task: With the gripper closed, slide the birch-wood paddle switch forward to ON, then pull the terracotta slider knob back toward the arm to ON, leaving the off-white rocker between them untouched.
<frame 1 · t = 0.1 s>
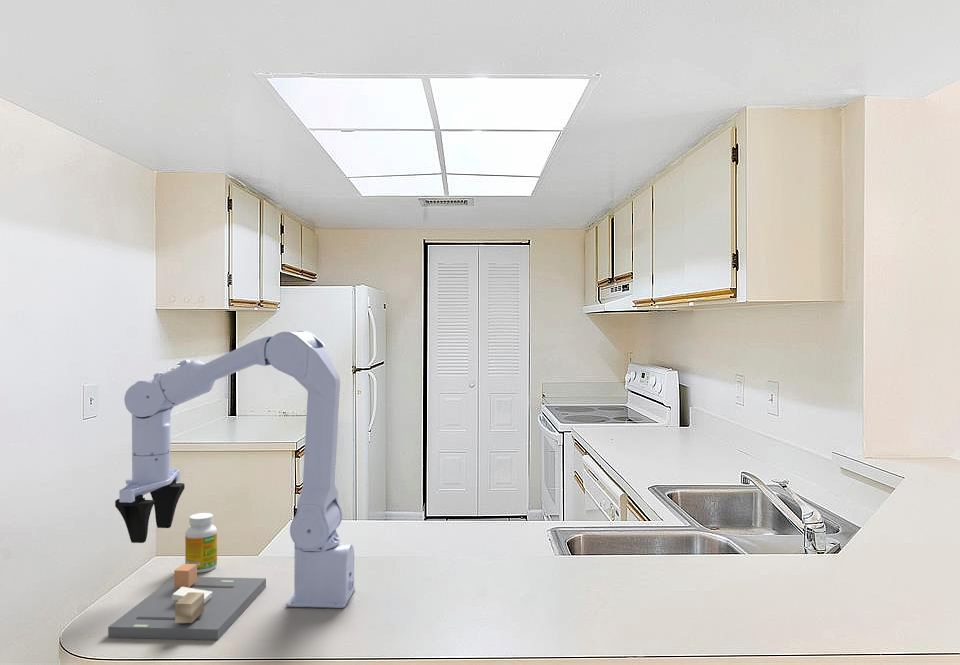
hand: (151, 534, 110), 10 cm above the worktop, fingers open, 7 cm apart
supplement bottle: (201, 569, 122), on the worktop
off-white rocker: (192, 595, 104), point 3 cm above the worktop, hinge at -8.0°
switch panel: (194, 609, 105), on the worktop
birch paddle switch: (189, 607, 98), point 3 cm above the worktop, slide at 0.0 cm
terracotta slider: (185, 575, 110), point 3 cm above the worktop, slide at 0.0 cm
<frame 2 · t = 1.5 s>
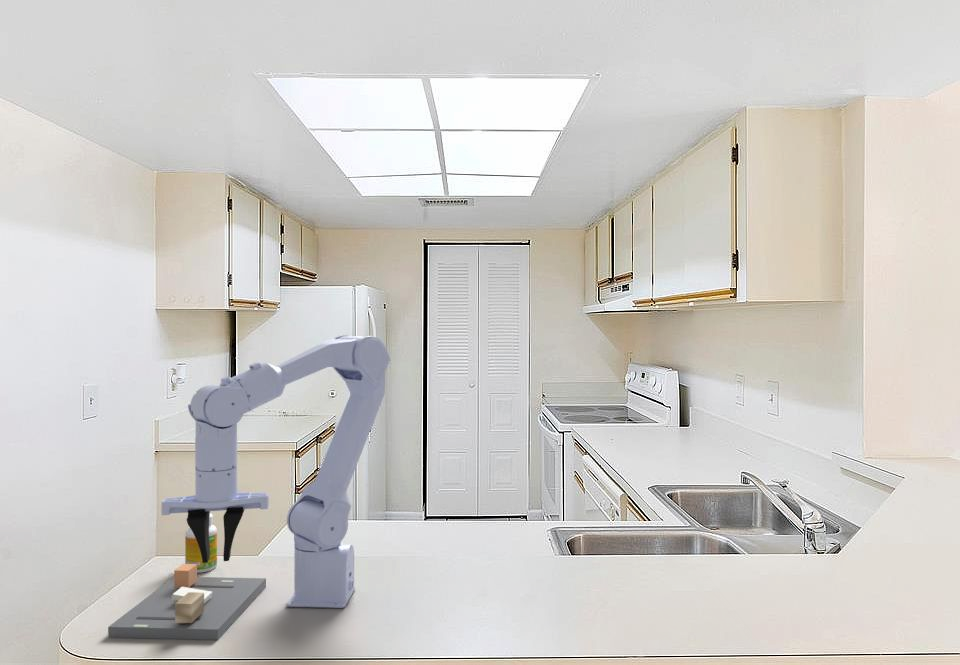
hand: (216, 559, 98), 10 cm above the worktop, fingers closed
nothing on the worktop moved.
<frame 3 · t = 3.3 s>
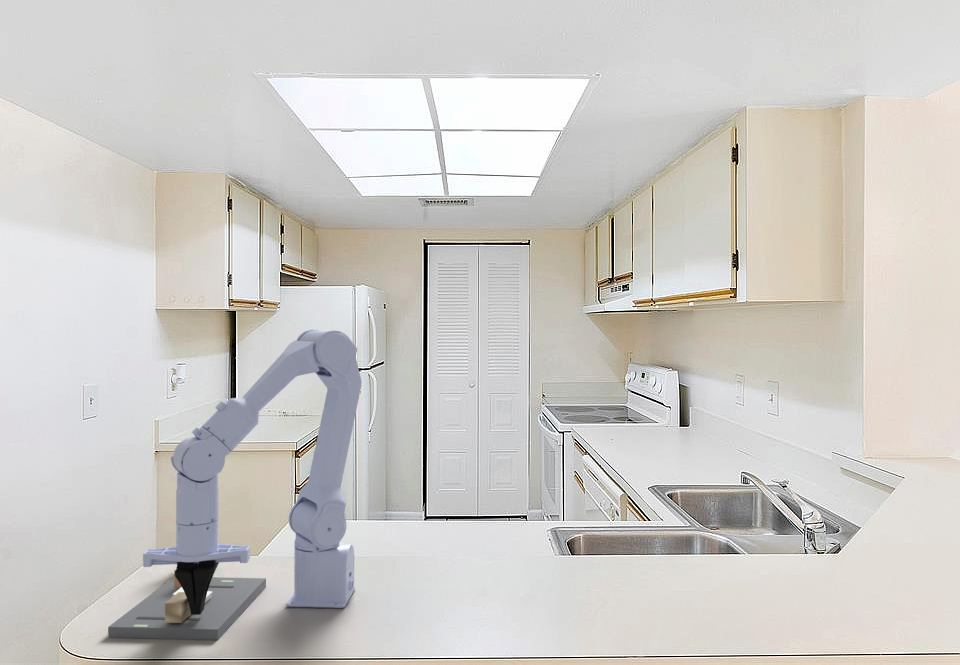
hand: (197, 611, 98), 3 cm above the worktop, fingers closed
birch paddle switch: (180, 607, 98), point 3 cm above the worktop, slide at 1.5 cm, touching gripper
everything else where it was.
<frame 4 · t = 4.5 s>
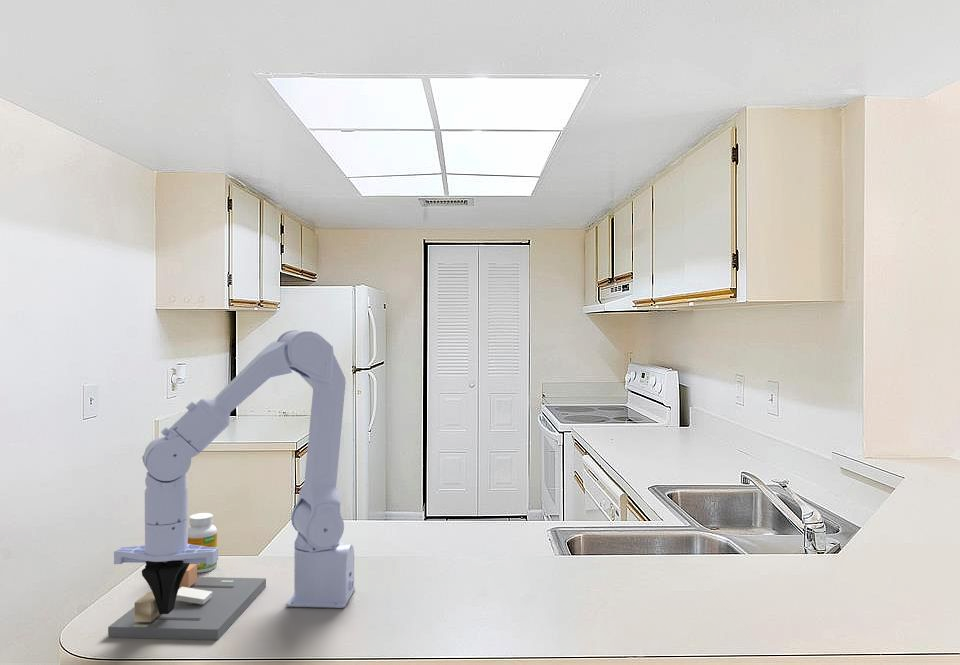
hand: (166, 611, 98), 3 cm above the worktop, fingers closed
birch paddle switch: (150, 606, 98), point 3 cm above the worktop, slide at 6.0 cm, touching gripper
everything else where it was.
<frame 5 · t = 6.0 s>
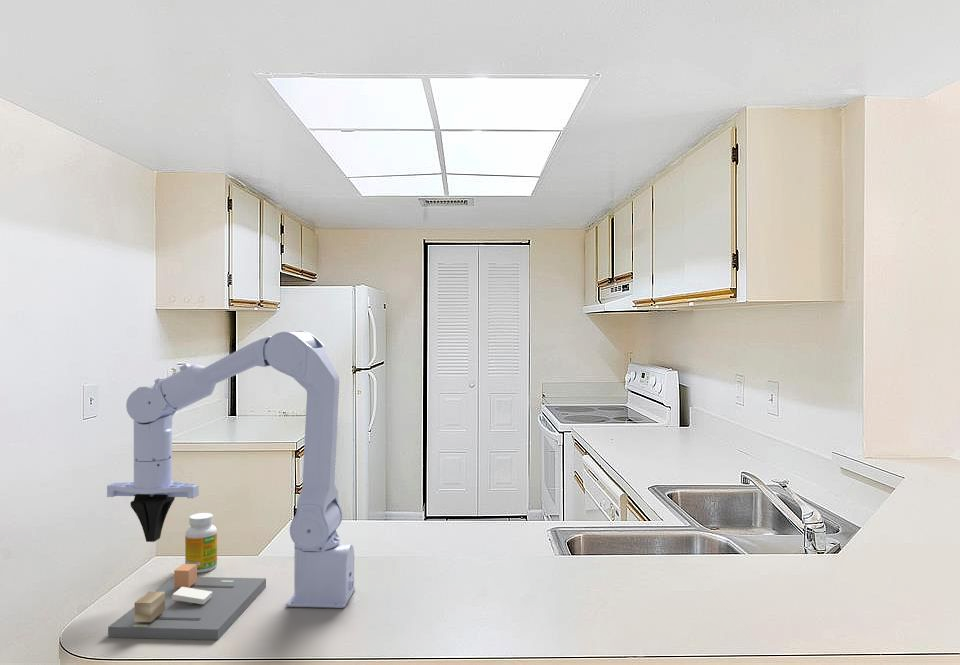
hand: (153, 539, 110), 9 cm above the worktop, fingers closed
birch paddle switch: (150, 606, 98), point 3 cm above the worktop, slide at 6.0 cm
everything else where it was.
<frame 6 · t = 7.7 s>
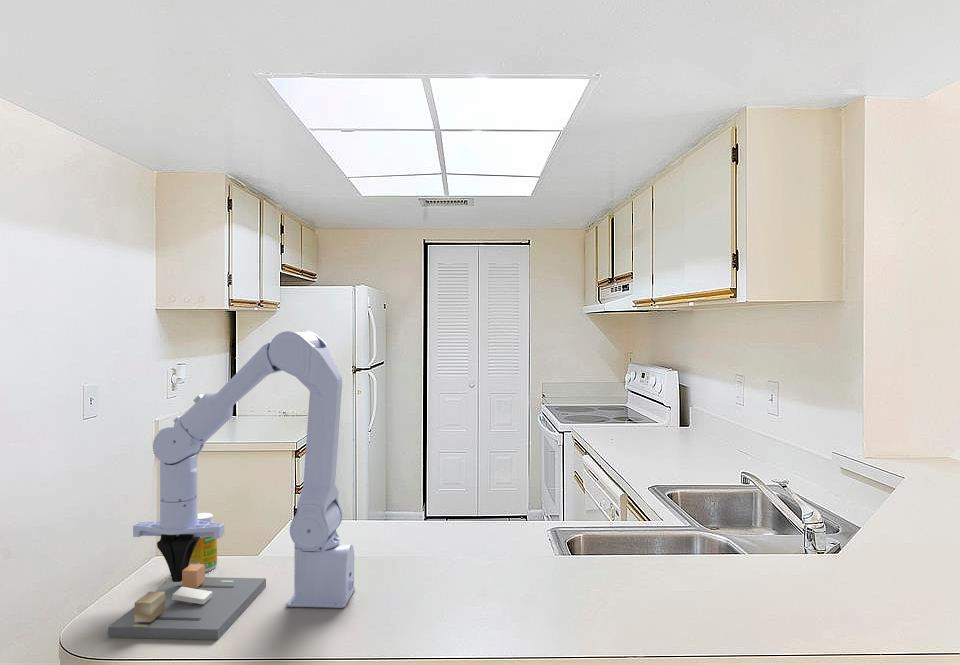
hand: (179, 579, 110), 3 cm above the worktop, fingers closed
terracotta slider: (193, 575, 110), point 3 cm above the worktop, slide at 1.3 cm, touching gripper
everything else where it was.
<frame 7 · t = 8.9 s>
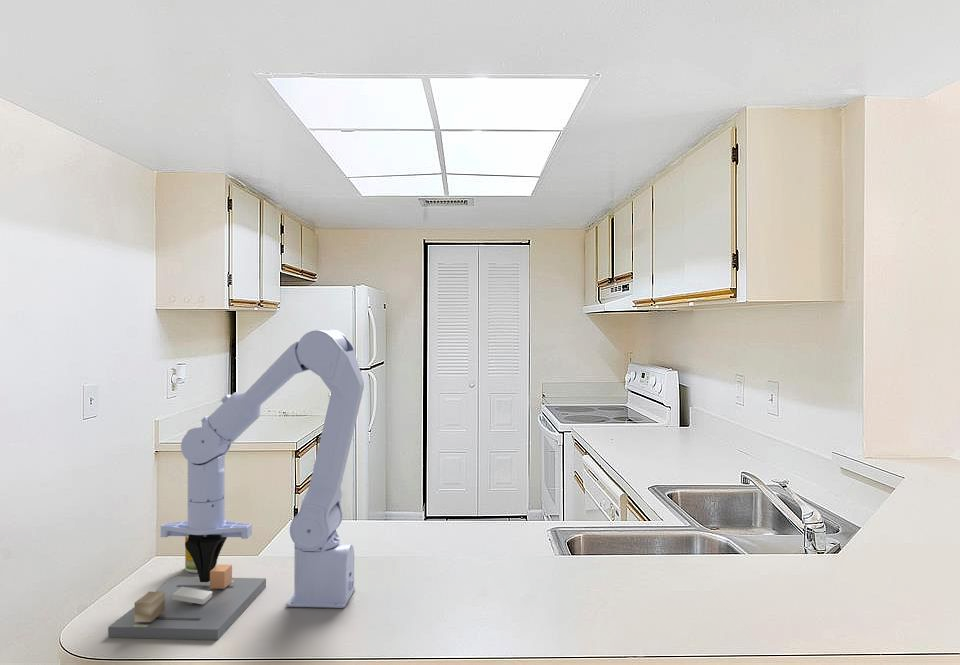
hand: (206, 579, 110), 3 cm above the worktop, fingers closed
terracotta slider: (221, 576, 110), point 3 cm above the worktop, slide at 5.9 cm, touching gripper
everything else where it was.
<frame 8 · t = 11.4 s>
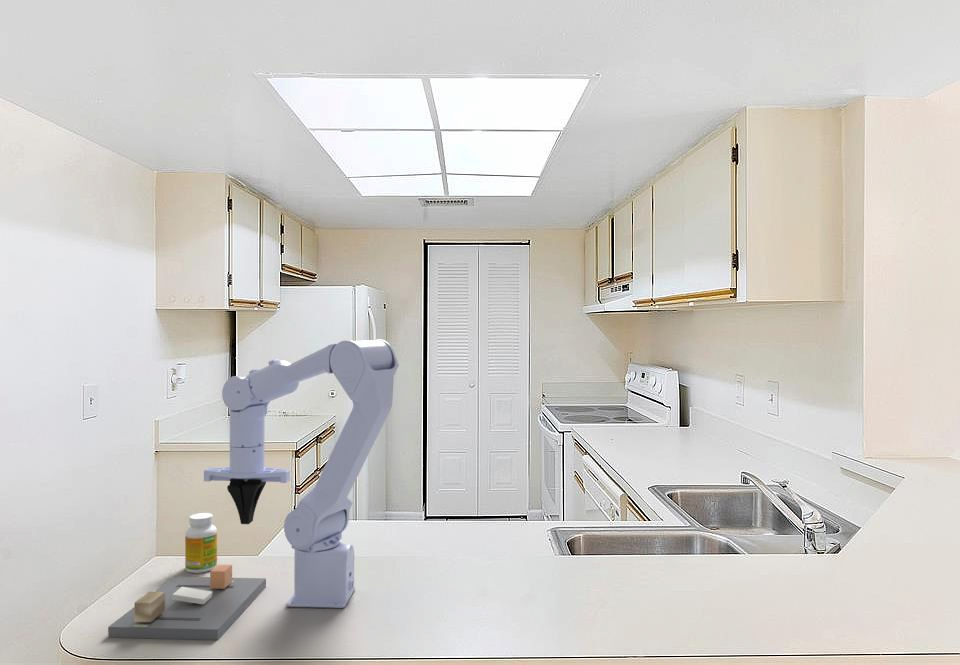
hand: (246, 522, 116), 10 cm above the worktop, fingers closed
terracotta slider: (221, 576, 110), point 3 cm above the worktop, slide at 6.0 cm
everything else where it was.
at the end: birch paddle switch slide at 6.0 cm; terracotta slider slide at 6.0 cm; off-white rocker at -8° (first picture: -8°) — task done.
